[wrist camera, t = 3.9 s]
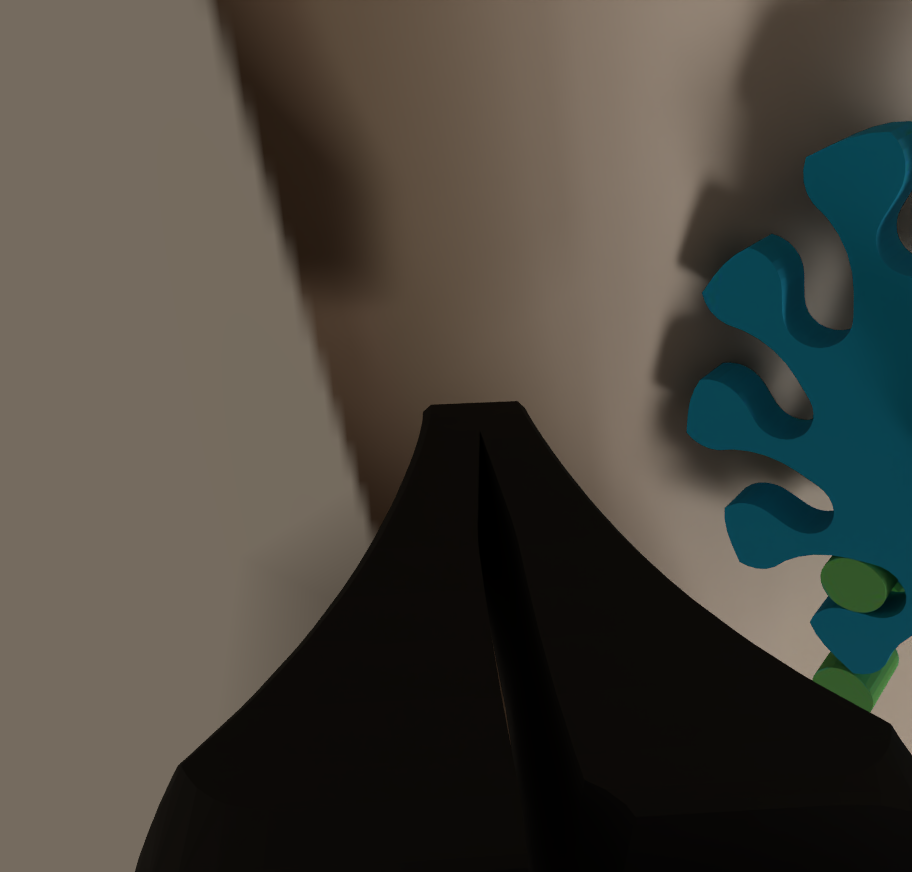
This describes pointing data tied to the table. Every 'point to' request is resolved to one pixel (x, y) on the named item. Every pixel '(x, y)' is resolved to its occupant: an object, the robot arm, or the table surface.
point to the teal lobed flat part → (830, 410)
